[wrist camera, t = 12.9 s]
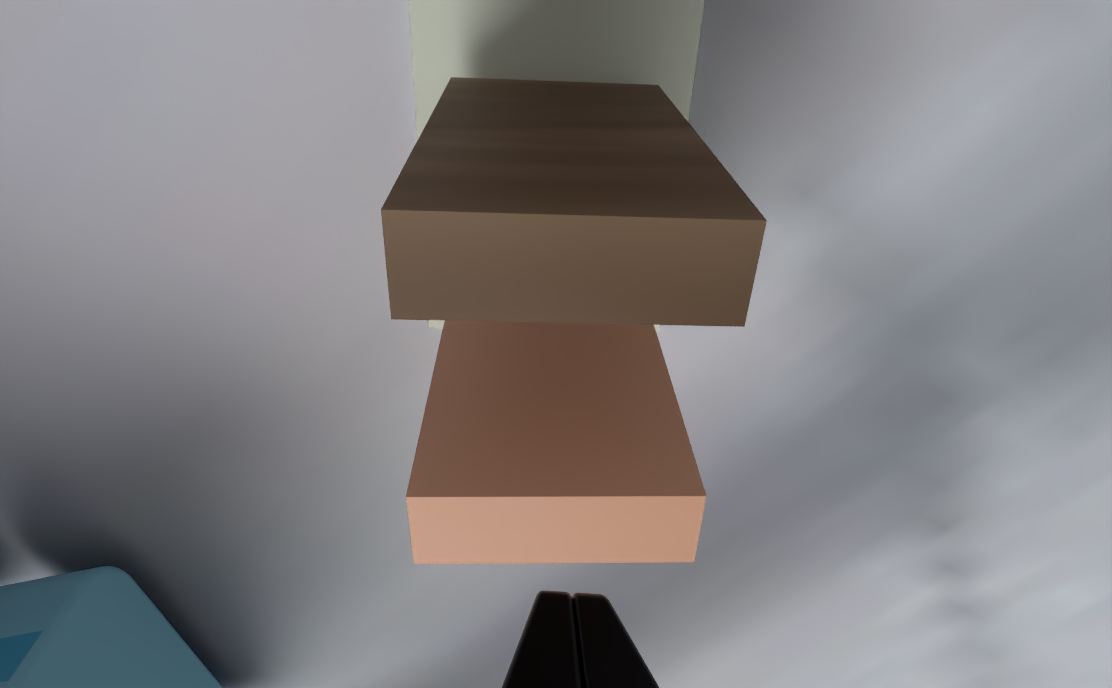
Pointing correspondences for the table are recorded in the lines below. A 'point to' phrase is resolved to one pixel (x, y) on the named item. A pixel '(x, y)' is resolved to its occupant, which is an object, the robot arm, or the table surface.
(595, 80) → the domino mat
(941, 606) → the table surface
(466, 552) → the terracotta domino
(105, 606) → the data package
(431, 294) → the walnut domino
